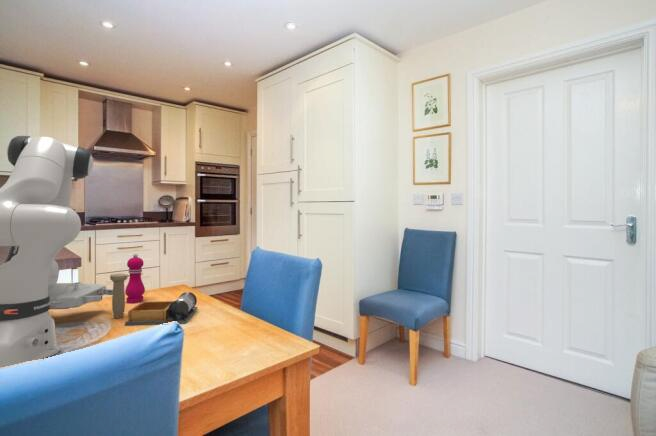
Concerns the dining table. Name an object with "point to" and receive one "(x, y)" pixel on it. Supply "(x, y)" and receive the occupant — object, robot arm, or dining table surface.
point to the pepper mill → (135, 280)
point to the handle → (118, 294)
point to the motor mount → (163, 311)
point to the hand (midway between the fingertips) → (107, 295)
